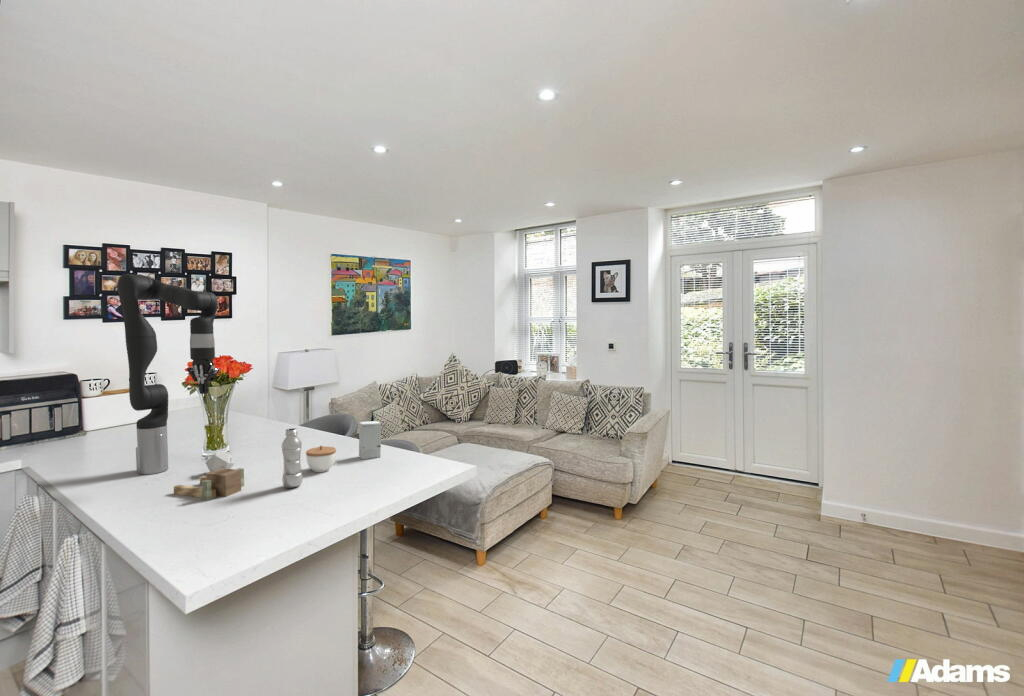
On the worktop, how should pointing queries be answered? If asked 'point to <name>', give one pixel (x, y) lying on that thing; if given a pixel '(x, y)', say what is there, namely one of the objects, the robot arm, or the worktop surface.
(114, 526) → the worktop surface
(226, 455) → the die
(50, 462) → the worktop surface
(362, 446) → the skincare box
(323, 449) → the lidded jar
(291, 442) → the plastic bottle
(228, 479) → the block
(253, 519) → the worktop surface
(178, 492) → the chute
